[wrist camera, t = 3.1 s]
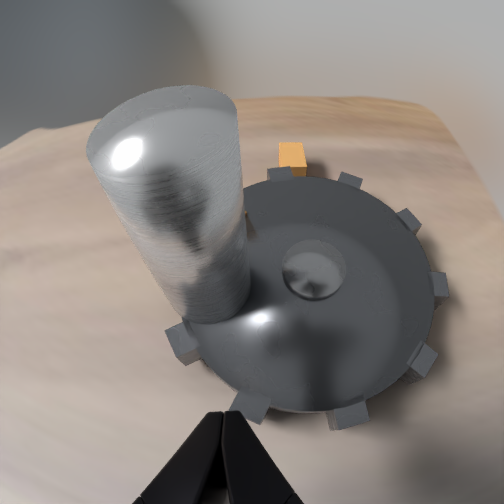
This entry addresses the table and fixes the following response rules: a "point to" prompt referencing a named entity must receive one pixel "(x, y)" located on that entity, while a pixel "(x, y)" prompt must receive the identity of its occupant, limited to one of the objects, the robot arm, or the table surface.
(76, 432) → the table surface
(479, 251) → the table surface
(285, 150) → the orange rectangular block
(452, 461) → the table surface
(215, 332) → the sprocket
